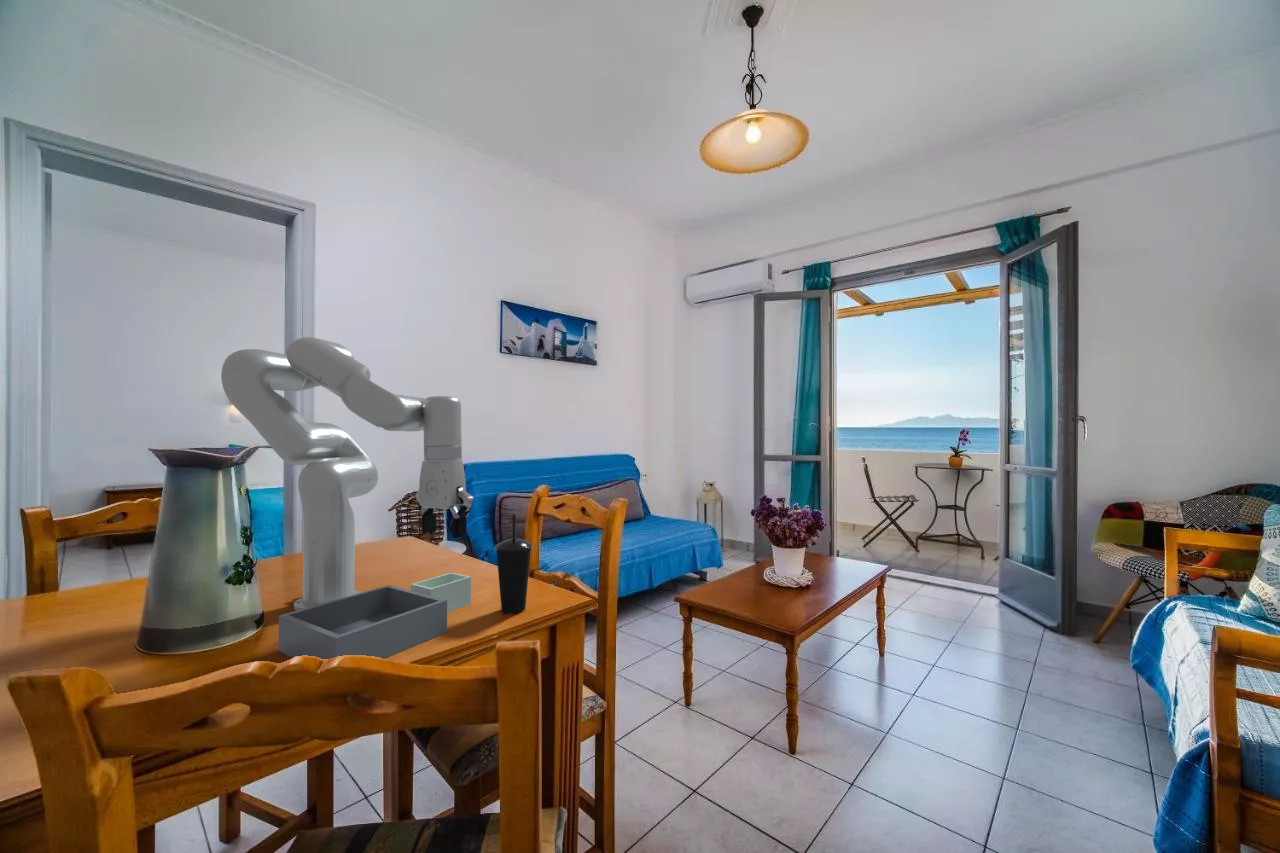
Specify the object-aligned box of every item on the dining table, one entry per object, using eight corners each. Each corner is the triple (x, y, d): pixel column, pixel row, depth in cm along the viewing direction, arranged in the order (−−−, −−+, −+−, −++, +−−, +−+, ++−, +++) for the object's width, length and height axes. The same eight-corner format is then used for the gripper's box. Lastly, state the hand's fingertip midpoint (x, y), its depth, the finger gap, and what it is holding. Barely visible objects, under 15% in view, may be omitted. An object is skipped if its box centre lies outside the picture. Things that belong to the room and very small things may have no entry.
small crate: (410, 613, 103) (410, 584, 103) (451, 599, 112) (451, 572, 112) (430, 619, 100) (431, 589, 100) (470, 604, 109) (470, 576, 109)
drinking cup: (517, 601, 110) (517, 510, 110) (539, 609, 105) (539, 514, 106) (487, 610, 104) (487, 515, 105) (509, 619, 99) (509, 519, 100)
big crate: (278, 651, 85) (278, 615, 85) (389, 614, 102) (389, 584, 102) (335, 677, 76) (336, 638, 76) (446, 632, 93) (447, 600, 93)
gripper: (401, 454, 108) (402, 534, 107) (455, 455, 99) (456, 542, 98) (432, 453, 114) (433, 528, 114) (485, 453, 105) (486, 535, 105)
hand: (444, 534), depth 106 cm, fingers open, 9 cm apart
